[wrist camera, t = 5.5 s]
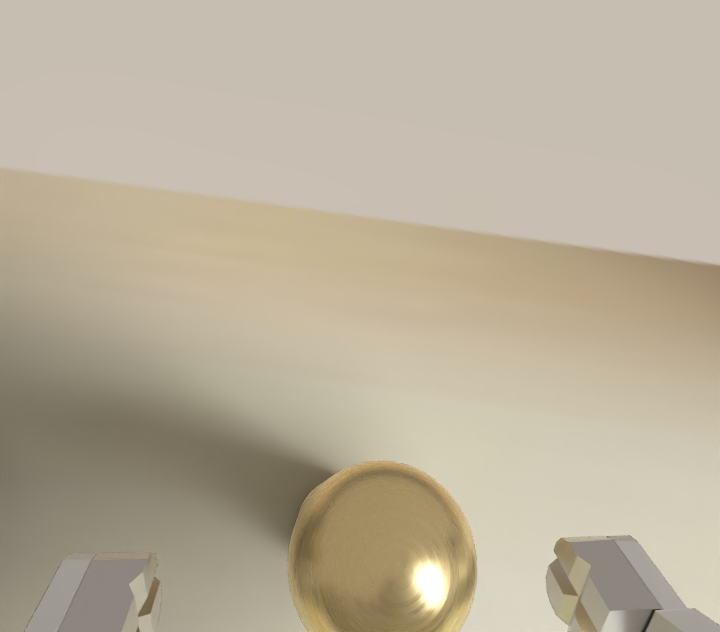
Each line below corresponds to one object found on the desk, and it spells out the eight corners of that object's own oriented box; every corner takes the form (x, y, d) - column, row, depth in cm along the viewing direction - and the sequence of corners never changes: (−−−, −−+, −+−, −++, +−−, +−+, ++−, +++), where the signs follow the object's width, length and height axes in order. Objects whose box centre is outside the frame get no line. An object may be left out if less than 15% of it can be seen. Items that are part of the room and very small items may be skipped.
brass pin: (381, 477, 17) (495, 453, 7) (384, 571, 16) (523, 702, 6) (298, 479, 17) (288, 454, 7) (295, 574, 16) (278, 718, 6)
